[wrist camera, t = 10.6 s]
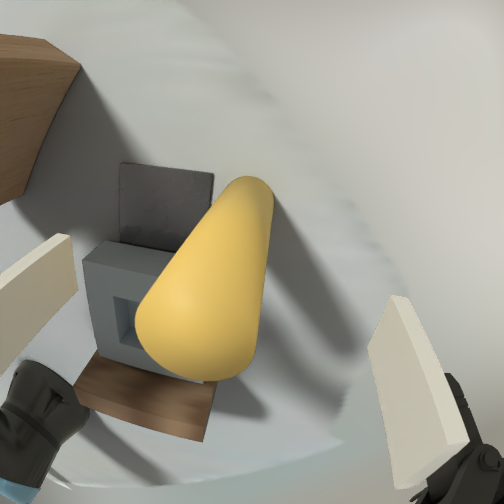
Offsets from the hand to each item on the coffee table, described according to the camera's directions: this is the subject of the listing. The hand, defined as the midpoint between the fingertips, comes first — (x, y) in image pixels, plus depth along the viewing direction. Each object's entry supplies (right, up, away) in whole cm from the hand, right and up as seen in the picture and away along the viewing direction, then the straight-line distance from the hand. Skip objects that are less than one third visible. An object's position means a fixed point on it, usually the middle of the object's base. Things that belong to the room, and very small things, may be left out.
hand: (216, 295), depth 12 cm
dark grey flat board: (-7, 0, +16) cm, 17 cm away
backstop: (-8, -10, +20) cm, 24 cm away
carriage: (-7, -3, +17) cm, 19 cm away
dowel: (+1, +6, +12) cm, 14 cm away
